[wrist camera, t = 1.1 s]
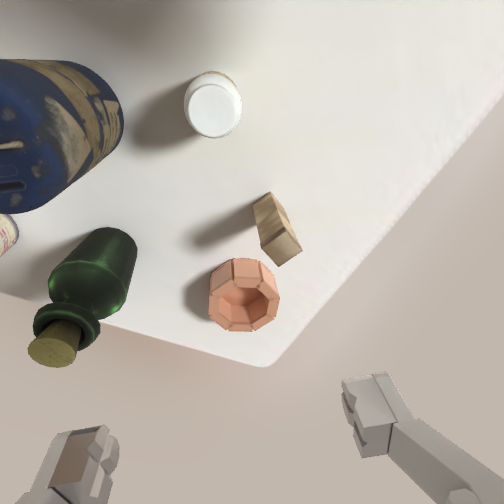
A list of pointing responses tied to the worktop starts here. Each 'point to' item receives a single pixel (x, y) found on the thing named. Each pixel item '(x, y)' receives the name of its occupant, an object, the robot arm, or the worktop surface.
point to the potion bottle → (83, 296)
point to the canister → (51, 129)
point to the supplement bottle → (213, 105)
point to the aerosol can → (7, 233)
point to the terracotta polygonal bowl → (242, 295)
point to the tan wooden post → (275, 230)
